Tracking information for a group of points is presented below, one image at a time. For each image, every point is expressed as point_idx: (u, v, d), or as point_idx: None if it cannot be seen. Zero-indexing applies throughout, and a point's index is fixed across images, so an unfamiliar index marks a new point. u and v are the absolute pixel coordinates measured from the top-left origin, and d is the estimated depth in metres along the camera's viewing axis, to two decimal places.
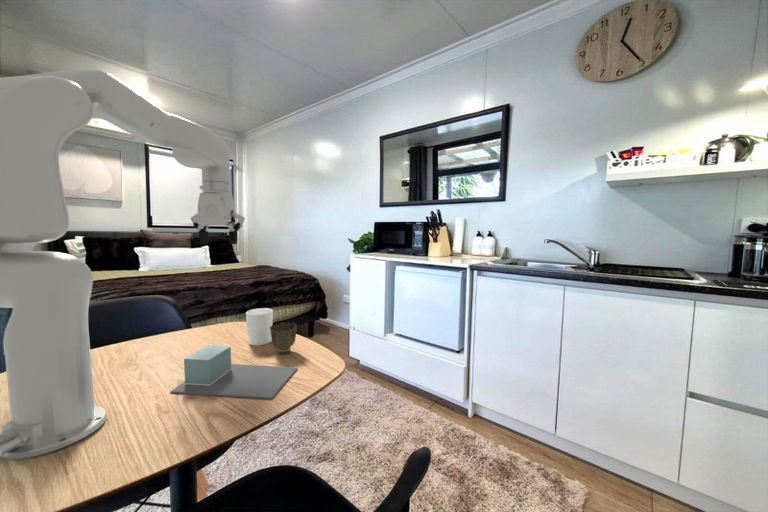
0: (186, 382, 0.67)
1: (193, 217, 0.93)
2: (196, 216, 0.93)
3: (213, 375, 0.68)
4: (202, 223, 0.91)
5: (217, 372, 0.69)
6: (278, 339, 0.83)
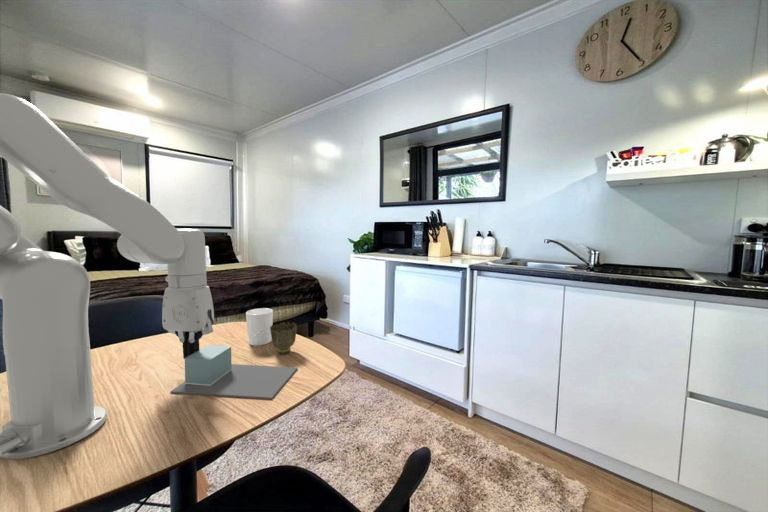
0: (186, 381, 0.67)
1: None
2: None
3: (213, 375, 0.68)
4: (168, 329, 0.68)
5: (217, 372, 0.69)
6: (278, 339, 0.83)
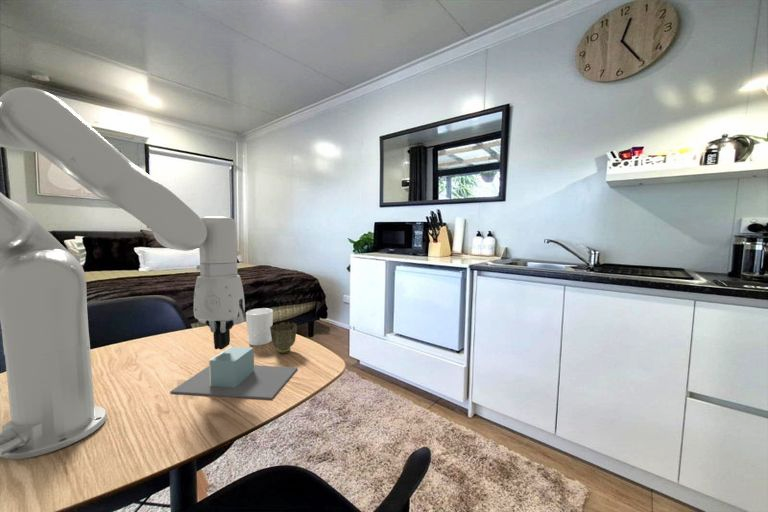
0: (210, 361, 0.66)
1: None
2: None
3: None
4: (200, 318, 0.67)
5: None
6: (278, 339, 0.83)
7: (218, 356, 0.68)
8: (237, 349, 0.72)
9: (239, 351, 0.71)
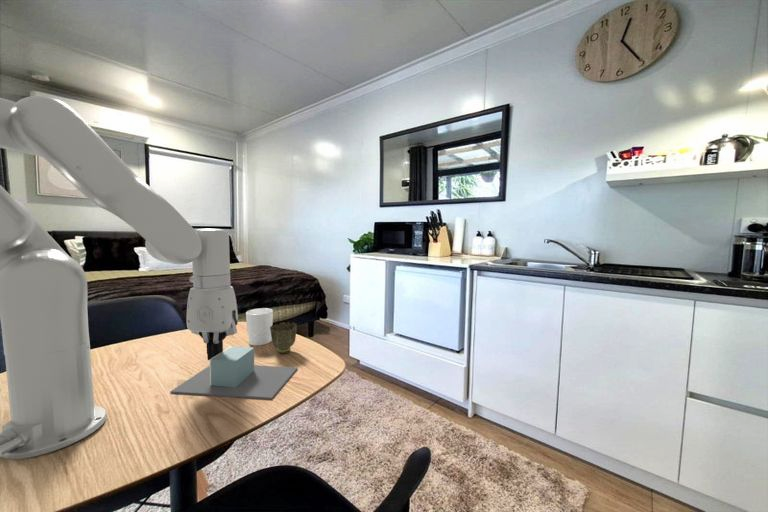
0: (211, 361, 0.66)
1: None
2: None
3: None
4: (193, 330, 0.68)
5: None
6: (278, 339, 0.83)
7: (219, 355, 0.68)
8: (237, 349, 0.72)
9: (240, 351, 0.71)
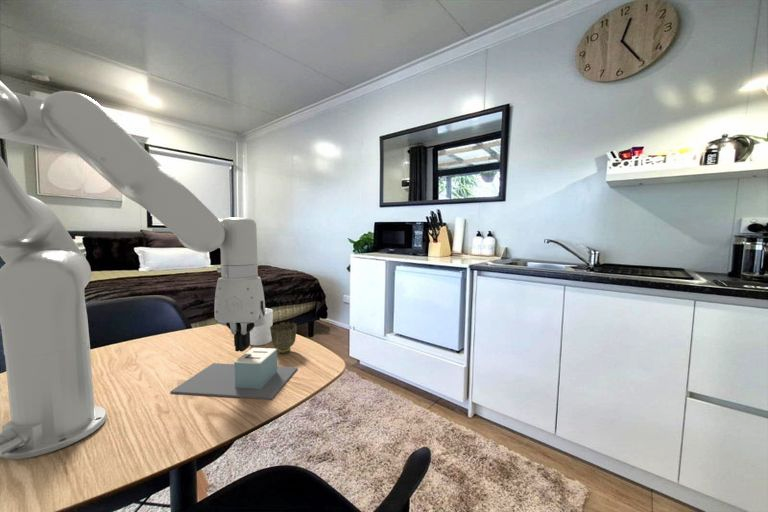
0: (258, 364, 0.65)
1: None
2: None
3: None
4: (221, 320, 0.67)
5: None
6: (278, 339, 0.83)
7: (264, 362, 0.67)
8: (273, 363, 0.72)
9: (272, 368, 0.71)
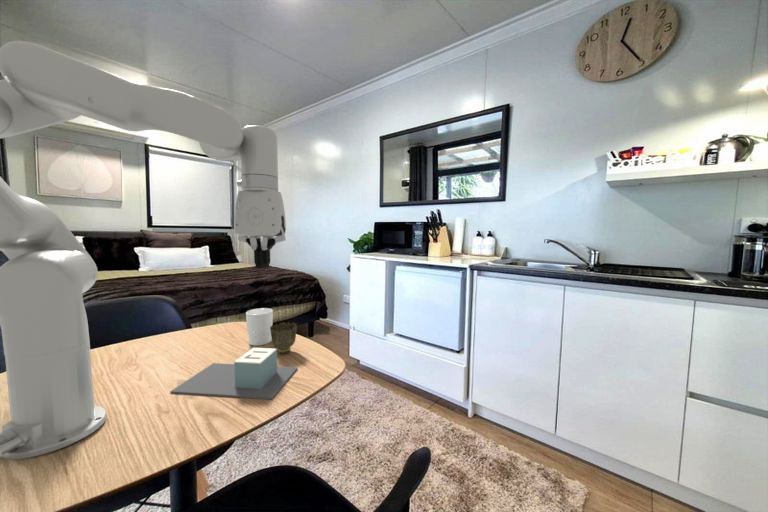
0: (258, 364, 0.65)
1: (240, 236, 0.67)
2: None
3: None
4: (241, 234, 0.65)
5: None
6: (278, 339, 0.83)
7: (264, 362, 0.67)
8: (273, 363, 0.72)
9: (272, 368, 0.71)
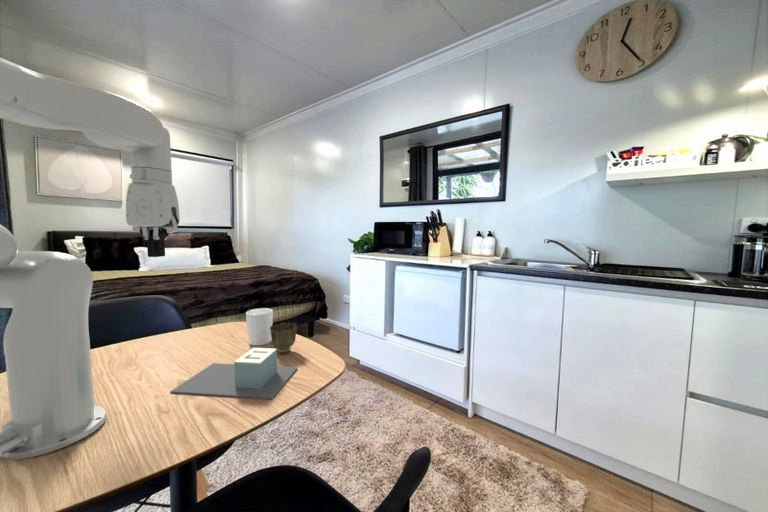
0: (258, 364, 0.65)
1: (134, 226, 0.70)
2: None
3: None
4: (132, 224, 0.68)
5: None
6: (278, 339, 0.83)
7: (264, 362, 0.67)
8: (273, 363, 0.72)
9: (272, 368, 0.71)
